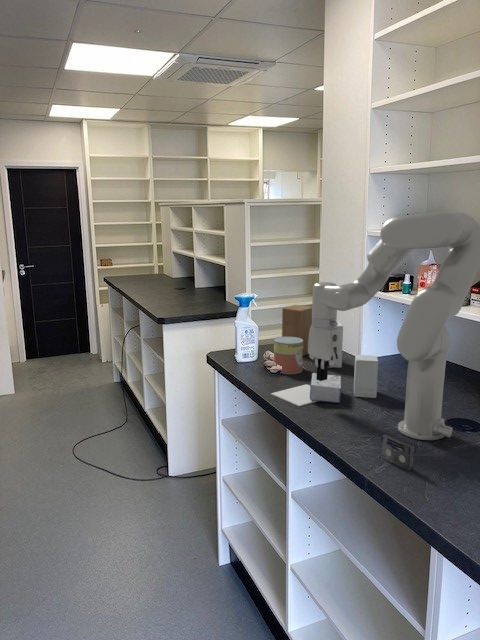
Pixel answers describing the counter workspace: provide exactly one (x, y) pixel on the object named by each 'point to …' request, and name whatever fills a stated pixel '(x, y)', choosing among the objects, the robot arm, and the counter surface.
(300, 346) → the canned food
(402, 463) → the mini dv tape
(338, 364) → the supplement box
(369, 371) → the supplement box
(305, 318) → the wooden block
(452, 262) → the robot arm
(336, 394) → the ink cartridge box
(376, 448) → the counter surface
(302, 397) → the mat
